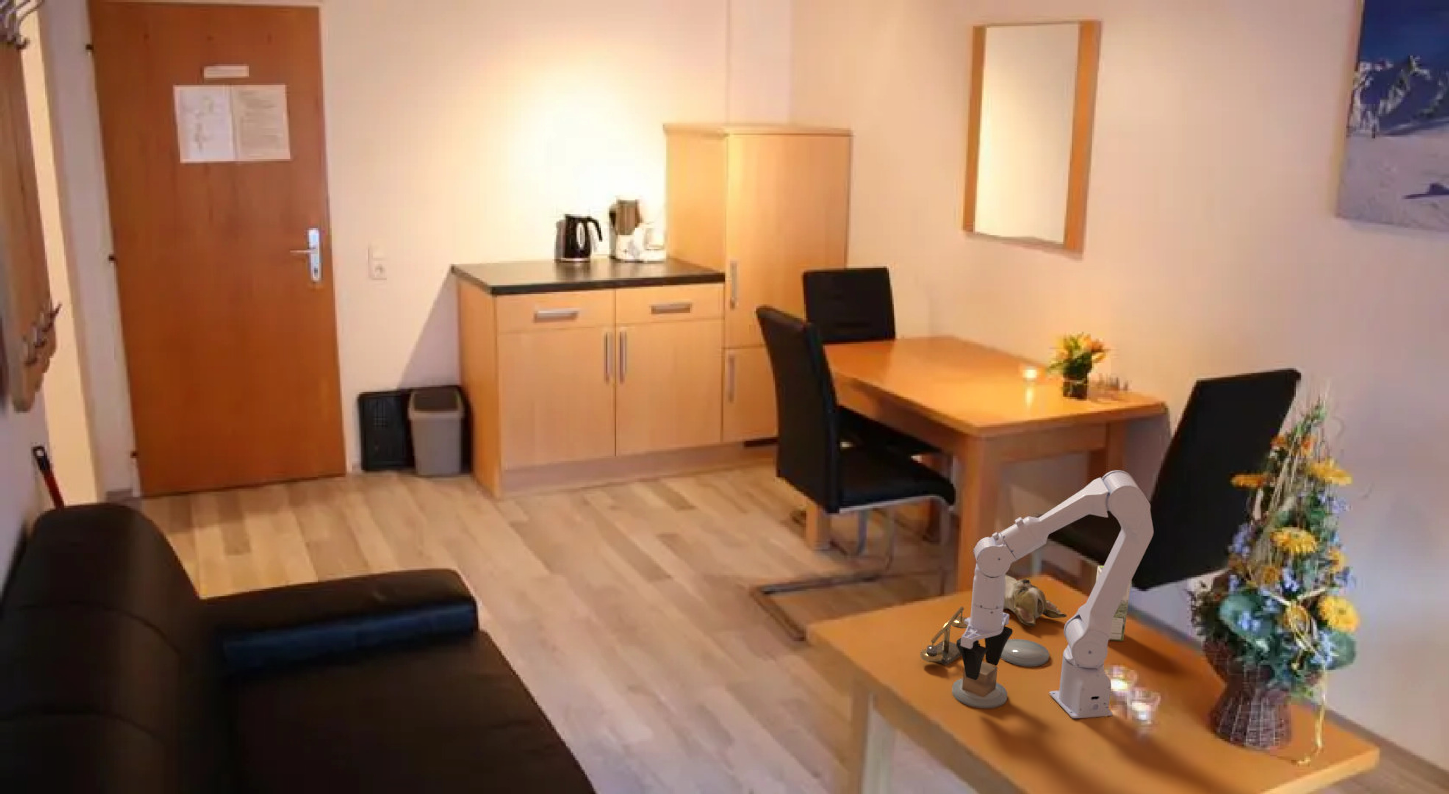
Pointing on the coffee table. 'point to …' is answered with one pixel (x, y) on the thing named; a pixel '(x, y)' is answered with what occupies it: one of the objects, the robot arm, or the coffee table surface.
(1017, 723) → the coffee table surface
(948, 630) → the bronze balance
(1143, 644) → the coffee table surface
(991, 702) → the left dish
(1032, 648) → the right dish
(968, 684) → the walnut block
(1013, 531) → the robot arm
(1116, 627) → the syrup box
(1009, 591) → the ceramic sculpture
